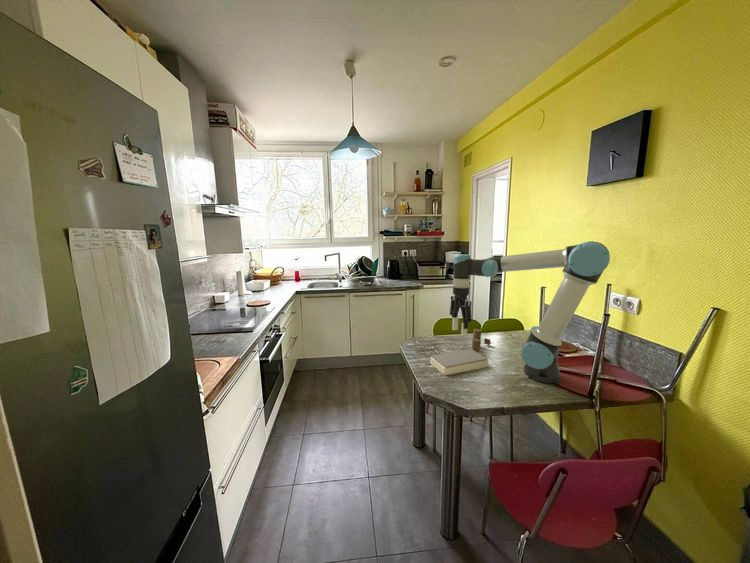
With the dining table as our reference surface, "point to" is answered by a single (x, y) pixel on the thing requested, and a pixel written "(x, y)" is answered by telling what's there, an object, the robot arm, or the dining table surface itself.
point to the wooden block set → (478, 340)
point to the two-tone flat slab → (458, 361)
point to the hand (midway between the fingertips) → (459, 332)
